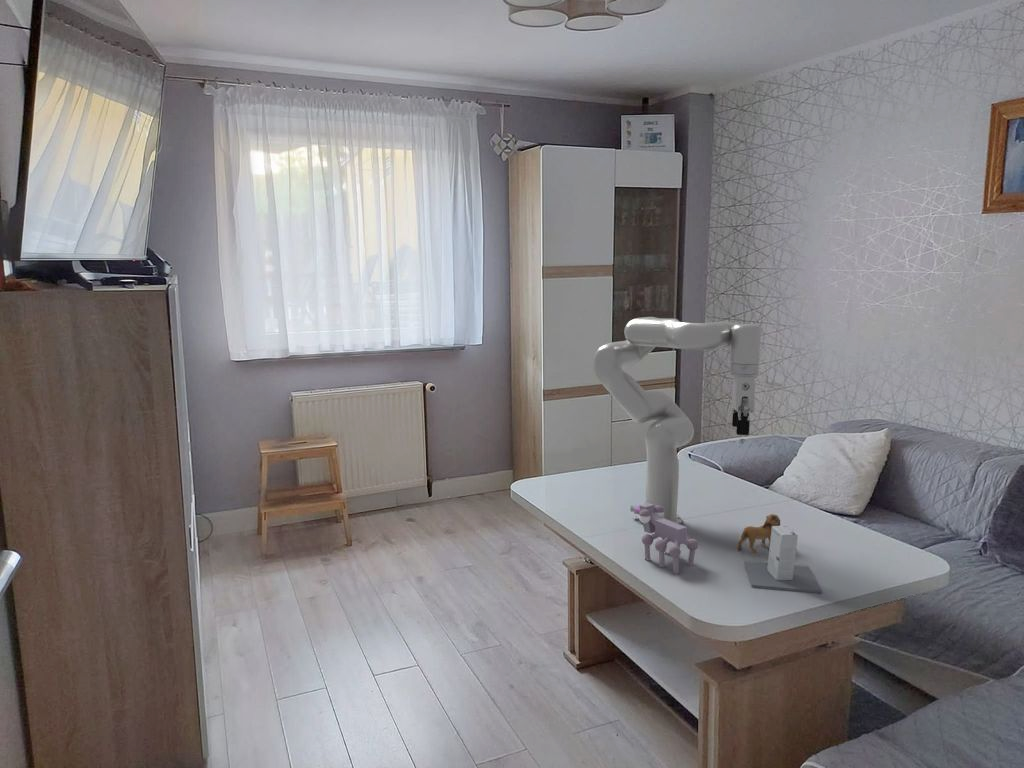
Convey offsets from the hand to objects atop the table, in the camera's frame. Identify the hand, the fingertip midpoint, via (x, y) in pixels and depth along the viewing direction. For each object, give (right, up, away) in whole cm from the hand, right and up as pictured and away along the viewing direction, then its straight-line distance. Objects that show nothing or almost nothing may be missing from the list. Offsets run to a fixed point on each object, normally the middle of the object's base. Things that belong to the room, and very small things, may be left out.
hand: (740, 430), depth 192 cm
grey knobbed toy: (-24, -34, -6) cm, 42 cm away
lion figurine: (+5, -33, +1) cm, 33 cm away
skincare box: (+4, -35, -18) cm, 40 cm away
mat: (+4, -36, -17) cm, 40 cm away
